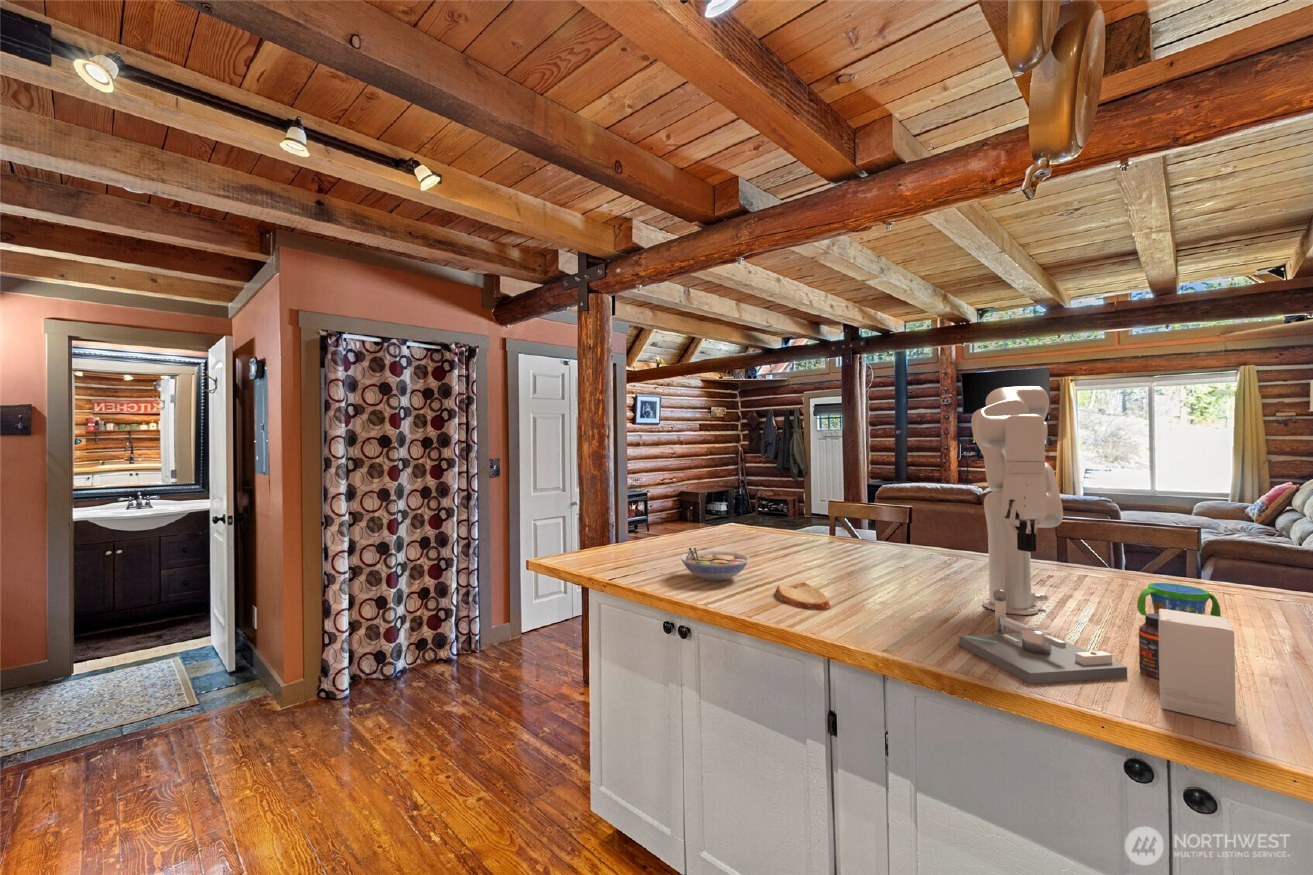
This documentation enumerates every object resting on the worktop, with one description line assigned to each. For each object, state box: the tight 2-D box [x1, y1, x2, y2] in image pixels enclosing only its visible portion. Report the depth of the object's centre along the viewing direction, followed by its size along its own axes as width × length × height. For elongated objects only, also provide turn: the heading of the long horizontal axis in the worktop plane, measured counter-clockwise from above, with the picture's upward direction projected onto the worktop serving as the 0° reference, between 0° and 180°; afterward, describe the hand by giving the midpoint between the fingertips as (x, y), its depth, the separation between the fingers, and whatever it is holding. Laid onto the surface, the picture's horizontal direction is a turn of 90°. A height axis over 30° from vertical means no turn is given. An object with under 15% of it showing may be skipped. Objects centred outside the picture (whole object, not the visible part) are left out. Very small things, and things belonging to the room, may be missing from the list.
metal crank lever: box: [993, 589, 1067, 654], centre depth 116 cm, size 18×5×10 cm, turn 7°
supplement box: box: [1158, 609, 1237, 726], centre depth 93 cm, size 9×9×15 cm
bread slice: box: [774, 581, 832, 611], centre depth 160 cm, size 18×18×4 cm
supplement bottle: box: [1138, 612, 1159, 680], centre depth 105 cm, size 6×6×11 cm
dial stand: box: [958, 632, 1128, 685], centre depth 113 cm, size 20×20×4 cm
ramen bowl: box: [680, 547, 750, 583], centre depth 184 cm, size 25×23×8 cm
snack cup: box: [1136, 582, 1222, 617], centre depth 130 cm, size 16×10×10 cm
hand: (1026, 550), depth 124 cm, fingers closed
